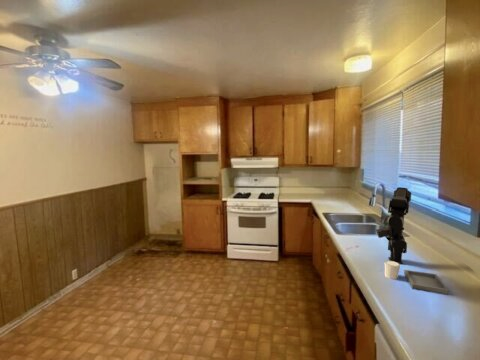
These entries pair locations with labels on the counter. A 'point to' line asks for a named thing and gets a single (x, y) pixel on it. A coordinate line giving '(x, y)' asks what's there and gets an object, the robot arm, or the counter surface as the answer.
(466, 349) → the counter surface
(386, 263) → the cream cup
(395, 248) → the robot arm
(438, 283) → the tray
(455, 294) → the counter surface
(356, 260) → the counter surface
